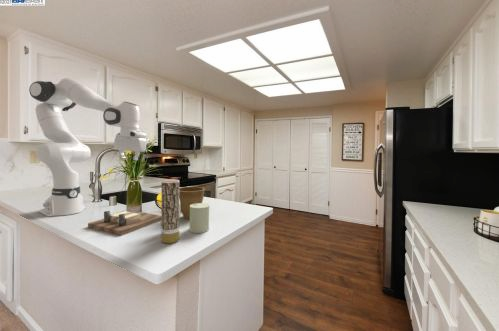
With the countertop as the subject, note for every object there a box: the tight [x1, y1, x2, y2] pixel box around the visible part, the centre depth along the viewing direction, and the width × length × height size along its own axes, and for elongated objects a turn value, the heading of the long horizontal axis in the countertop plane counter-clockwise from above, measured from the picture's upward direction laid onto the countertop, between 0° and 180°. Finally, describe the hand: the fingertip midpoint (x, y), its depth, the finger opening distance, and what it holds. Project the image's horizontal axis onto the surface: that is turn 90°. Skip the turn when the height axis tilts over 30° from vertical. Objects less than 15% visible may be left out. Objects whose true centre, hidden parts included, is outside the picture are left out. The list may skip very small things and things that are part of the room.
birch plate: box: [110, 210, 141, 225], centre depth 107 cm, size 12×8×3 cm, turn 68°
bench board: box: [87, 210, 161, 237], centre depth 109 cm, size 22×24×7 cm
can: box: [188, 202, 211, 234], centre depth 104 cm, size 9×9×12 cm
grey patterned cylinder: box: [160, 178, 180, 245], centre depth 90 cm, size 7×7×25 cm
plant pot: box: [179, 186, 205, 220], centre depth 121 cm, size 15×15×16 cm
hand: (129, 159), depth 118 cm, fingers open, 8 cm apart
